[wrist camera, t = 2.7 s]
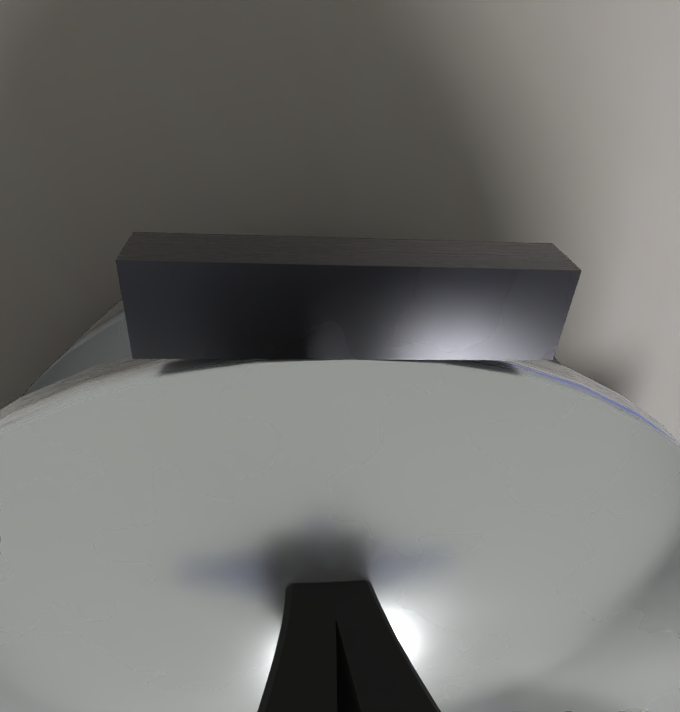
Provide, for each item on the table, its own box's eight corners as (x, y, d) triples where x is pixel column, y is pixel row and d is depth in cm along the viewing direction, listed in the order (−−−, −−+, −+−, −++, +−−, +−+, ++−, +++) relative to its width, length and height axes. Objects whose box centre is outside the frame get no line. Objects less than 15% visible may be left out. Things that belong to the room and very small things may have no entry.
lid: (578, 800, 17) (610, 886, 16) (2, 850, 16) (-32, 953, 14) (975, 254, 8) (1173, 329, 6) (-474, 215, 6) (-788, 308, 4)
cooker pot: (562, 699, 22) (620, 814, 18) (10, 735, 20) (-53, 875, 16) (679, 248, 15) (805, 282, 12) (-116, 227, 13) (-270, 260, 10)
